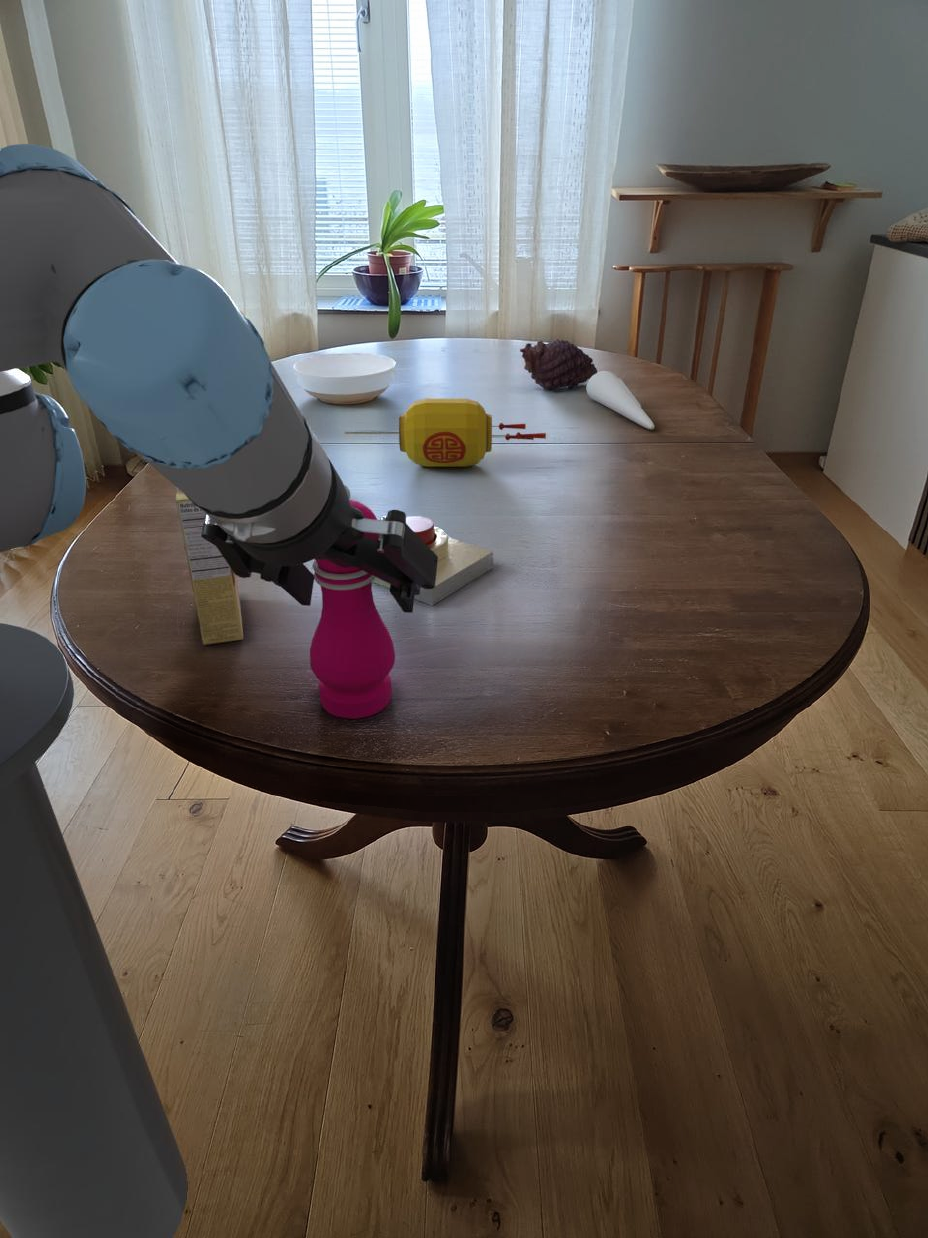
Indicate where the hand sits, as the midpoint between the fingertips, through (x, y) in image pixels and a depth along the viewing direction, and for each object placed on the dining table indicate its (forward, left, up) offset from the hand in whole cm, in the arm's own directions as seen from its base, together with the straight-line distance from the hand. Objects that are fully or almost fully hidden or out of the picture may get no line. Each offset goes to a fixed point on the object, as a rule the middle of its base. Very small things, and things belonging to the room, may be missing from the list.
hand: (358, 593), depth 68 cm
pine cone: (-39, +97, -9) cm, 105 cm away
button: (-10, +19, -5) cm, 22 cm away
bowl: (-68, +66, -9) cm, 95 cm away
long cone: (-20, +87, -9) cm, 90 cm away
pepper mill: (+2, -3, -9) cm, 9 cm away
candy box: (-18, -2, -9) cm, 20 cm away
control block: (-10, +19, -9) cm, 23 cm away
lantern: (-29, +48, -9) cm, 57 cm away
